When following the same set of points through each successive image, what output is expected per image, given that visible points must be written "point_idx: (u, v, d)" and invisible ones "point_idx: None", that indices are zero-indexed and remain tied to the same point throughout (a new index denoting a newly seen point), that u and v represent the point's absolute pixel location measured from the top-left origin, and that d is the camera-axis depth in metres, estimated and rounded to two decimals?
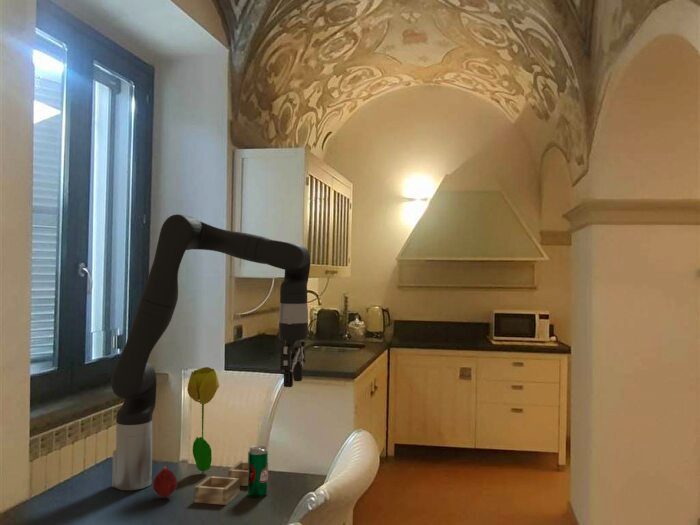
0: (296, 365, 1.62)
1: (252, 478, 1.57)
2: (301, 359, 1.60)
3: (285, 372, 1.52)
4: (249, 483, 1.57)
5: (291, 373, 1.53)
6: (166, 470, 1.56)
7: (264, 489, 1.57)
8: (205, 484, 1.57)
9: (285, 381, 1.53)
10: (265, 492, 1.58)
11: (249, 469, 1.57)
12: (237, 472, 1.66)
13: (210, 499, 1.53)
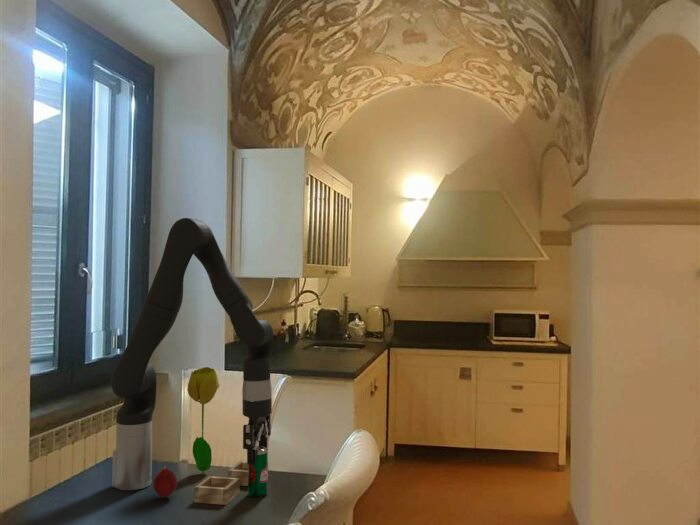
0: (261, 439, 1.63)
1: (252, 478, 1.57)
2: (266, 433, 1.62)
3: (248, 450, 1.54)
4: (249, 483, 1.57)
5: (254, 451, 1.54)
6: (166, 470, 1.56)
7: (264, 489, 1.57)
8: (205, 484, 1.57)
9: (248, 459, 1.54)
10: (265, 492, 1.58)
11: (249, 469, 1.57)
12: (237, 472, 1.66)
13: (210, 499, 1.53)
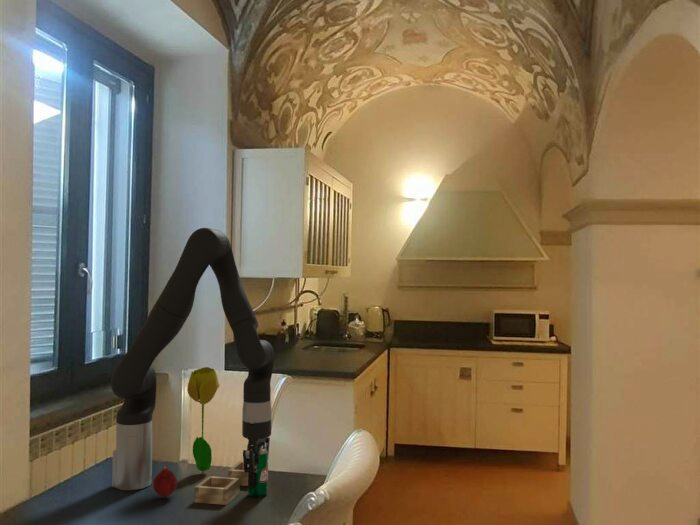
0: None
1: None
2: None
3: (249, 473, 1.55)
4: None
5: (255, 474, 1.56)
6: (166, 470, 1.56)
7: (264, 489, 1.57)
8: (205, 484, 1.57)
9: (249, 482, 1.55)
10: (265, 492, 1.58)
11: None
12: (237, 472, 1.66)
13: (210, 499, 1.53)
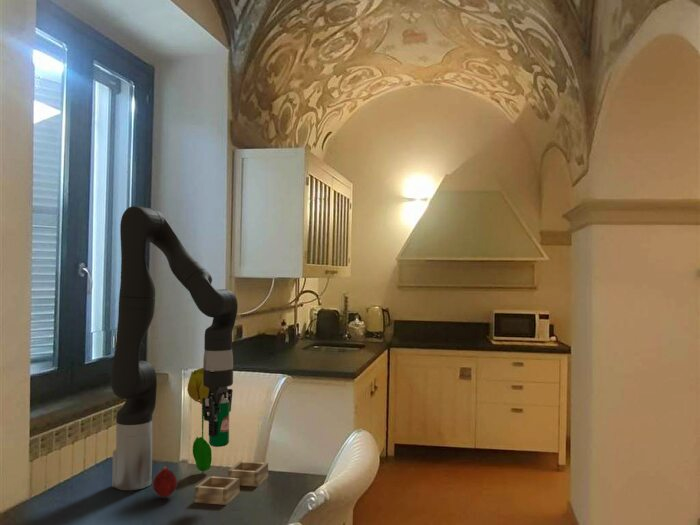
0: None
1: None
2: None
3: (209, 422, 1.53)
4: None
5: (216, 423, 1.54)
6: (166, 470, 1.56)
7: (225, 439, 1.55)
8: (205, 484, 1.57)
9: (209, 431, 1.53)
10: (226, 442, 1.56)
11: None
12: (237, 472, 1.66)
13: (210, 499, 1.53)
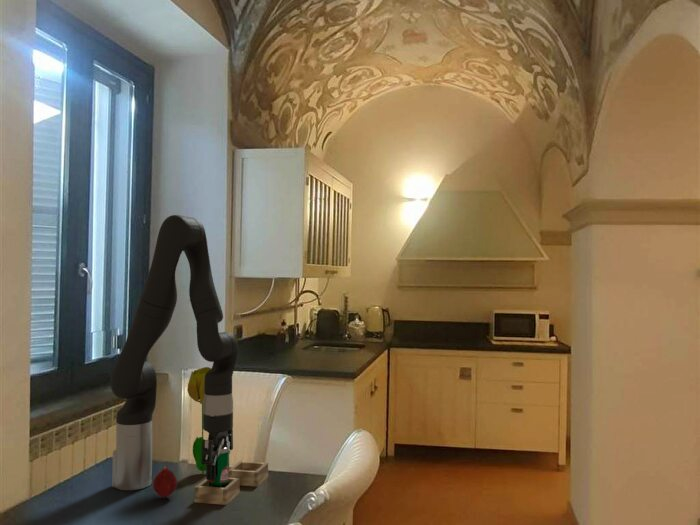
0: None
1: None
2: None
3: (207, 465, 1.52)
4: (209, 482, 1.55)
5: (213, 466, 1.52)
6: (166, 470, 1.56)
7: None
8: (205, 484, 1.57)
9: (207, 474, 1.52)
10: None
11: None
12: (237, 472, 1.66)
13: (210, 499, 1.53)
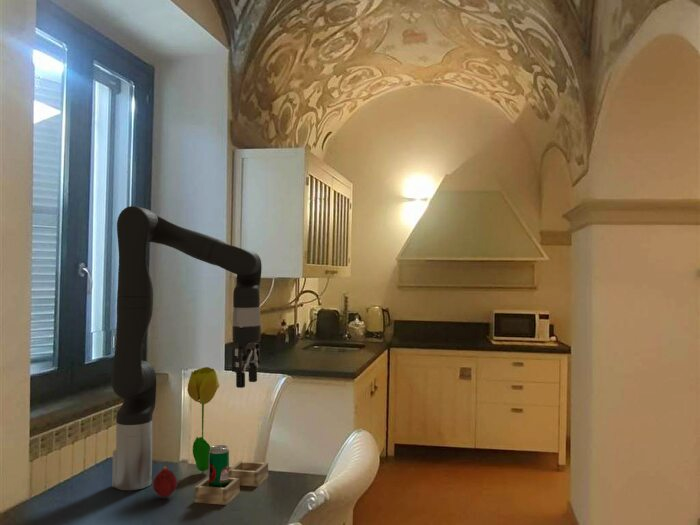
0: (251, 366, 1.69)
1: (212, 478, 1.54)
2: (255, 361, 1.67)
3: (237, 373, 1.59)
4: (209, 483, 1.55)
5: (243, 374, 1.60)
6: (166, 470, 1.56)
7: None
8: (205, 484, 1.57)
9: (237, 382, 1.59)
10: None
11: (210, 469, 1.55)
12: (237, 472, 1.66)
13: (210, 499, 1.53)
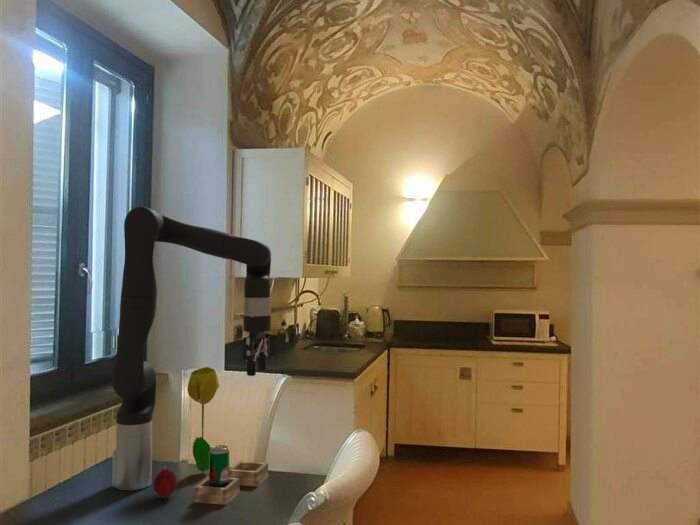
0: (260, 356, 1.72)
1: (212, 478, 1.54)
2: (265, 350, 1.71)
3: (248, 362, 1.63)
4: (209, 483, 1.55)
5: (254, 363, 1.63)
6: (166, 470, 1.56)
7: None
8: (205, 484, 1.57)
9: (248, 370, 1.63)
10: None
11: (210, 469, 1.55)
12: (237, 472, 1.66)
13: (210, 499, 1.53)
